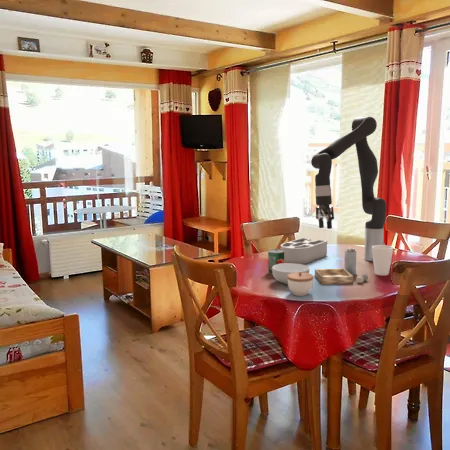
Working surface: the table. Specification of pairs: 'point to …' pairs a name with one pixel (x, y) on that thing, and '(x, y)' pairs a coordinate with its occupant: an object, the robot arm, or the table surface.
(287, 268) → the cereal bowl
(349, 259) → the pebble jar
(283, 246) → the ice cube tray
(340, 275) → the birch tray
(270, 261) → the canned tomato
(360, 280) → the pebble
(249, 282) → the table surface
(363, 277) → the pebble
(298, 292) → the lidded jar
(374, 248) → the foam cup
